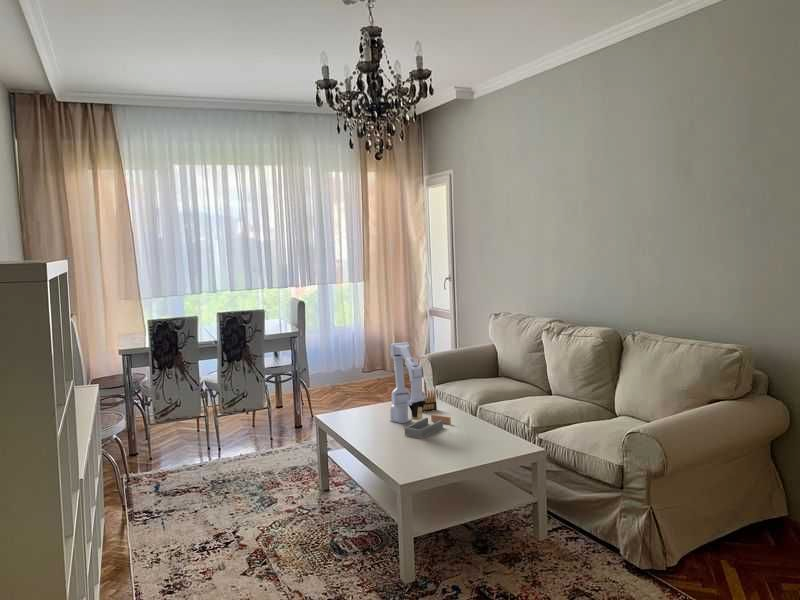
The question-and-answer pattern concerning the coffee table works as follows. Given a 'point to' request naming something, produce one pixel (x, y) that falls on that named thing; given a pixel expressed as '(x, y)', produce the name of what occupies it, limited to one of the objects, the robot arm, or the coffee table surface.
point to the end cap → (441, 418)
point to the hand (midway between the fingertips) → (417, 415)
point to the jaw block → (418, 414)
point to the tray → (422, 428)
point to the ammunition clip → (430, 401)
